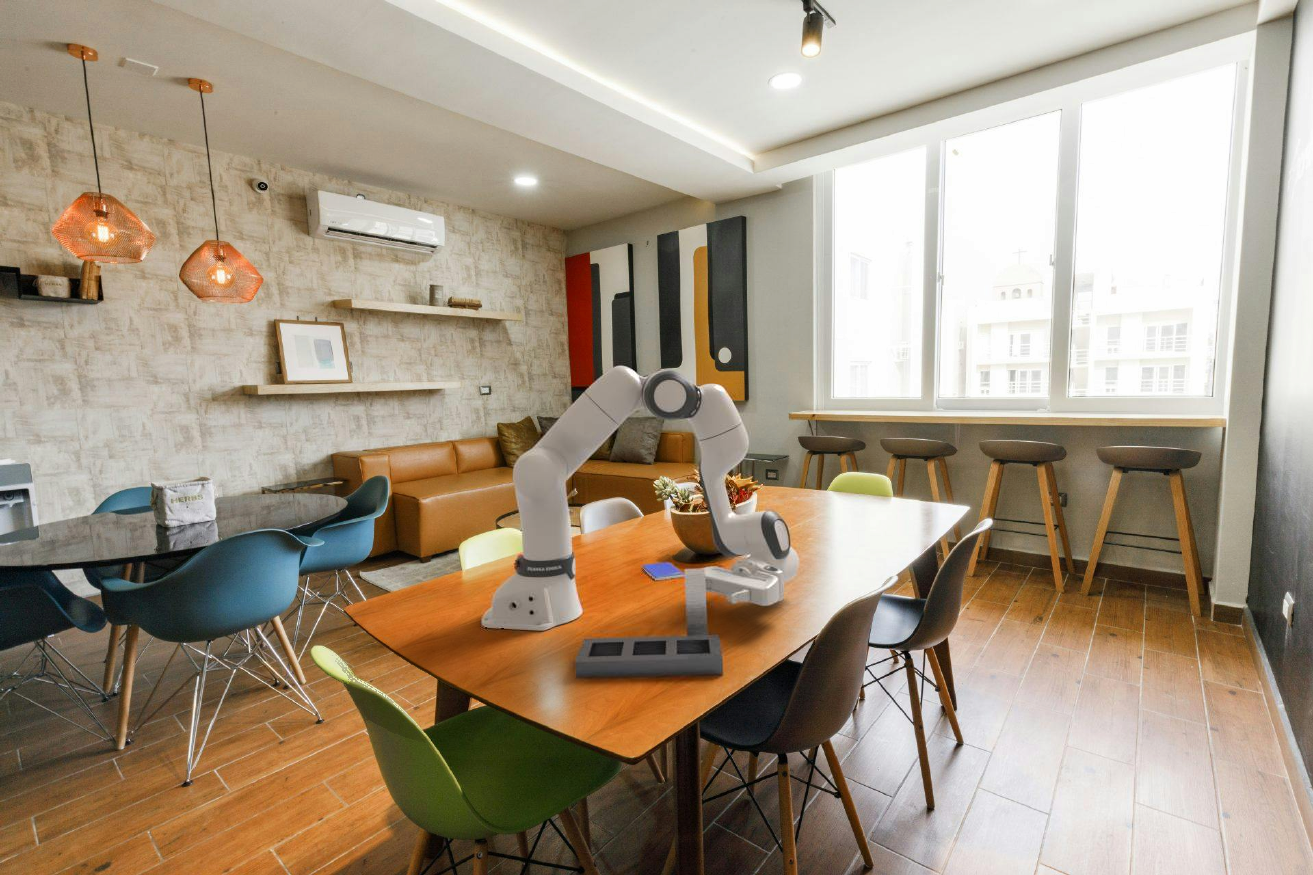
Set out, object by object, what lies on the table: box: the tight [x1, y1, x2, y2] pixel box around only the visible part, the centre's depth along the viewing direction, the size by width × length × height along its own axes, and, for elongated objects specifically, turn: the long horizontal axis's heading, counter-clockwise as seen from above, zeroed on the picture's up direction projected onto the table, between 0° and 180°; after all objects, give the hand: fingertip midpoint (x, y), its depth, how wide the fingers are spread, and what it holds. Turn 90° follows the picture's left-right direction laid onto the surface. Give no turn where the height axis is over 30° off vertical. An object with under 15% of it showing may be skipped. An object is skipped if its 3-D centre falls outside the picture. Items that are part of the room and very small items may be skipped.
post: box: [684, 567, 708, 636], centre depth 118 cm, size 4×4×14 cm
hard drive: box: [641, 561, 685, 581], centre depth 164 cm, size 2×8×12 cm
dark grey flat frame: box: [574, 634, 724, 679], centre depth 109 cm, size 26×10×3 cm, turn 88°
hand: (711, 594), depth 122 cm, fingers open, 8 cm apart
